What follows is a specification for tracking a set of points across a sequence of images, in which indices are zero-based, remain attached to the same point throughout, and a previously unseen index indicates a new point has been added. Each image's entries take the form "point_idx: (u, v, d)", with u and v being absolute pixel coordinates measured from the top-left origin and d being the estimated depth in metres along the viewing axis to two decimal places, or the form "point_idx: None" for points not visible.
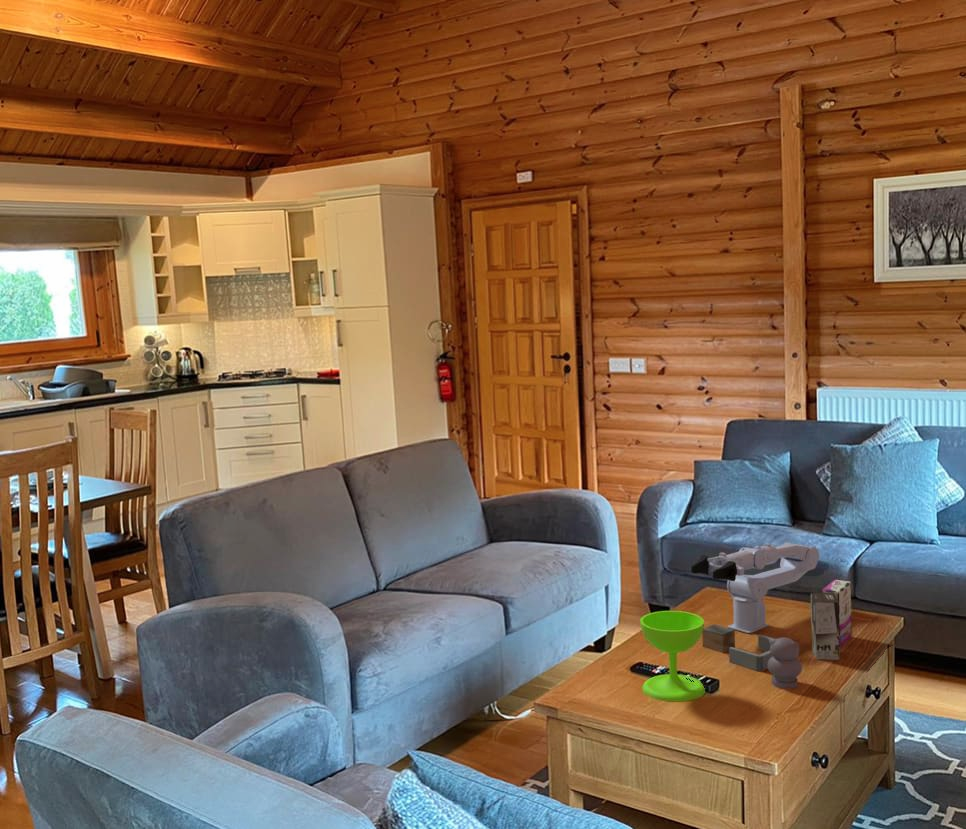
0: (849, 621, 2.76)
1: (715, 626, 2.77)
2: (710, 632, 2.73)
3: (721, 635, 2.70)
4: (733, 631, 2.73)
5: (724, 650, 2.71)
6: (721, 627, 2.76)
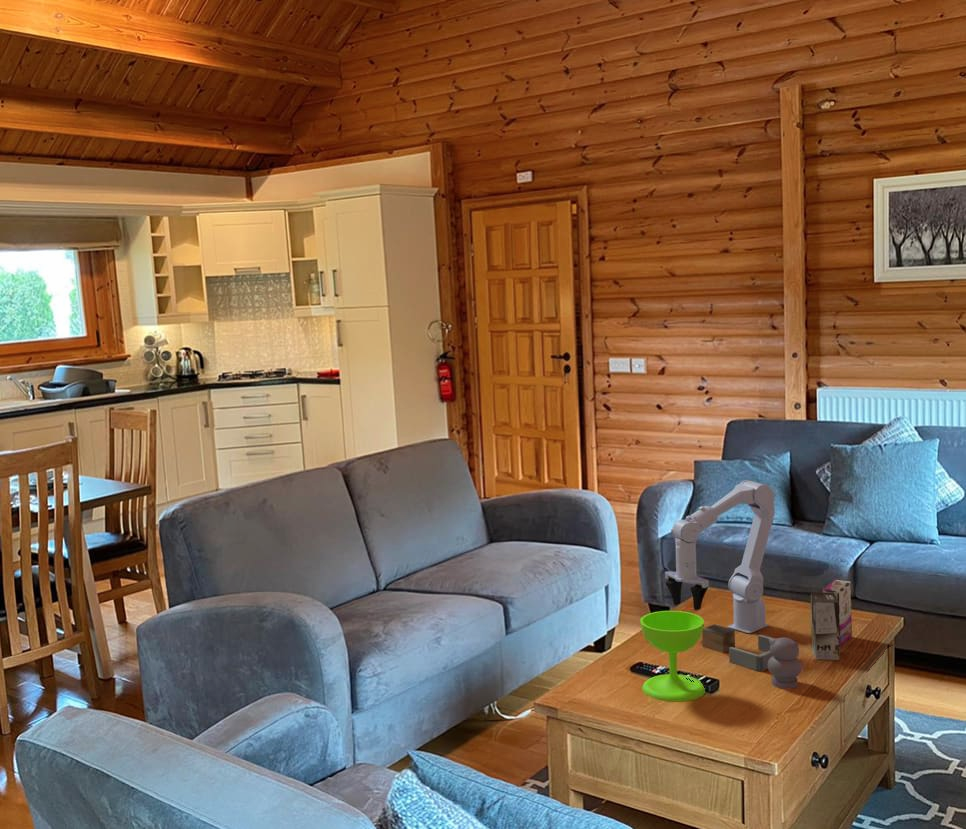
0: (849, 621, 2.76)
1: (715, 626, 2.77)
2: (710, 632, 2.73)
3: (721, 635, 2.70)
4: (733, 631, 2.73)
5: (724, 650, 2.71)
6: (721, 627, 2.76)
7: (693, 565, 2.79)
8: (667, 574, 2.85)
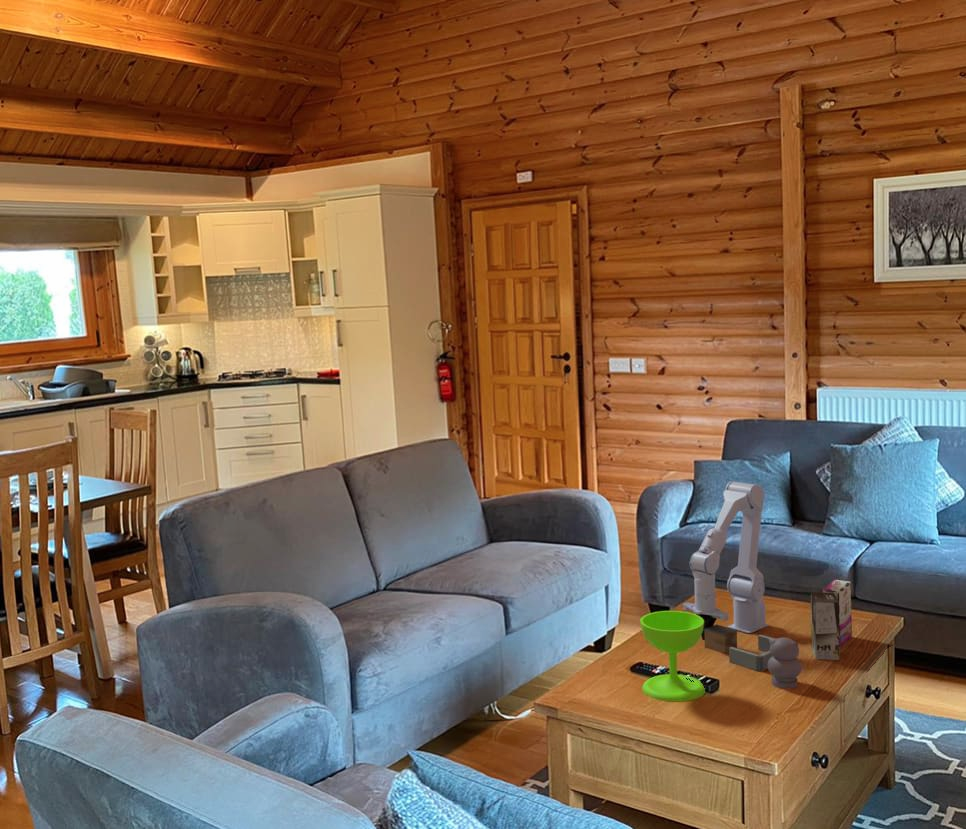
0: (849, 621, 2.76)
1: (717, 626, 2.76)
2: (712, 632, 2.72)
3: (723, 635, 2.70)
4: (735, 631, 2.72)
5: (726, 650, 2.70)
6: (723, 627, 2.75)
7: (712, 597, 2.74)
8: (685, 606, 2.81)
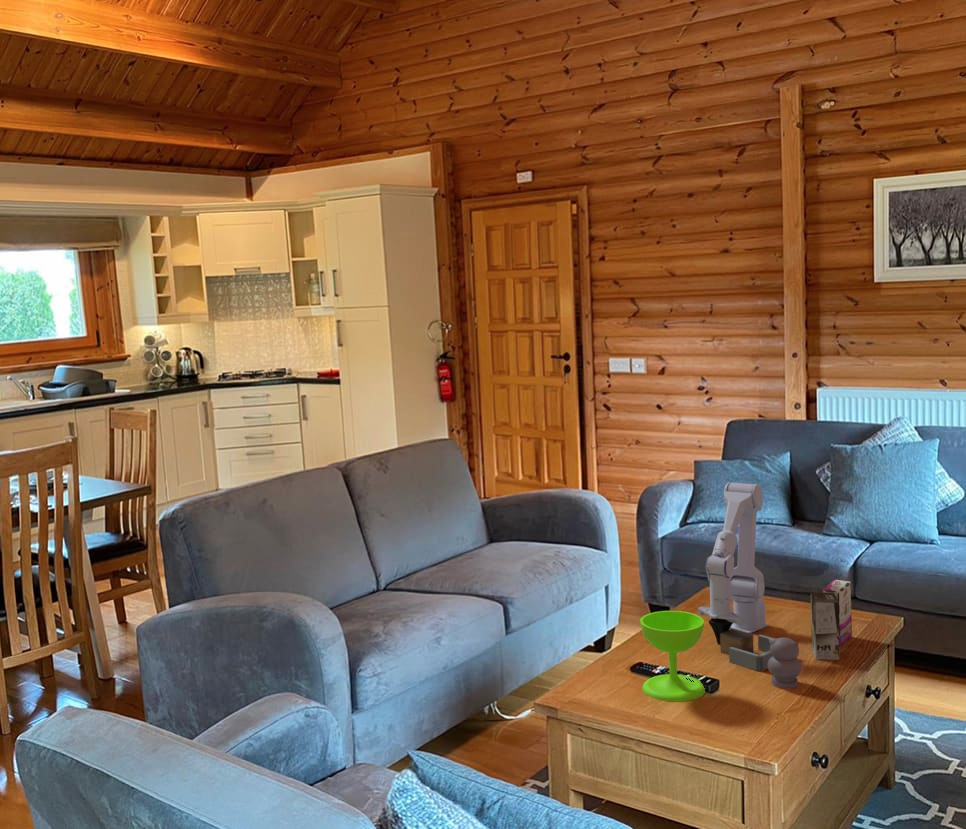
0: (849, 621, 2.76)
1: (733, 631, 2.72)
2: (728, 637, 2.68)
3: (740, 640, 2.65)
4: (752, 636, 2.68)
5: None
6: (739, 632, 2.71)
7: (728, 601, 2.70)
8: (700, 610, 2.77)
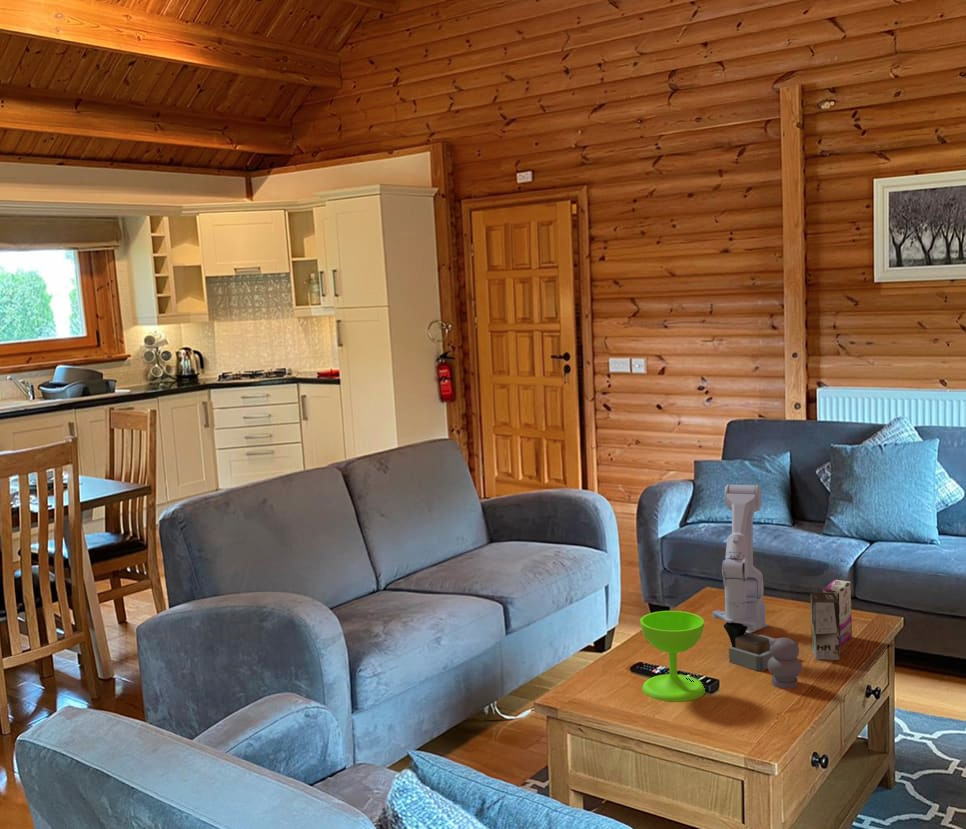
0: (849, 621, 2.76)
1: (748, 635, 2.68)
2: (744, 641, 2.64)
3: (755, 644, 2.61)
4: (767, 640, 2.64)
5: None
6: (755, 636, 2.67)
7: (743, 605, 2.66)
8: (715, 614, 2.73)
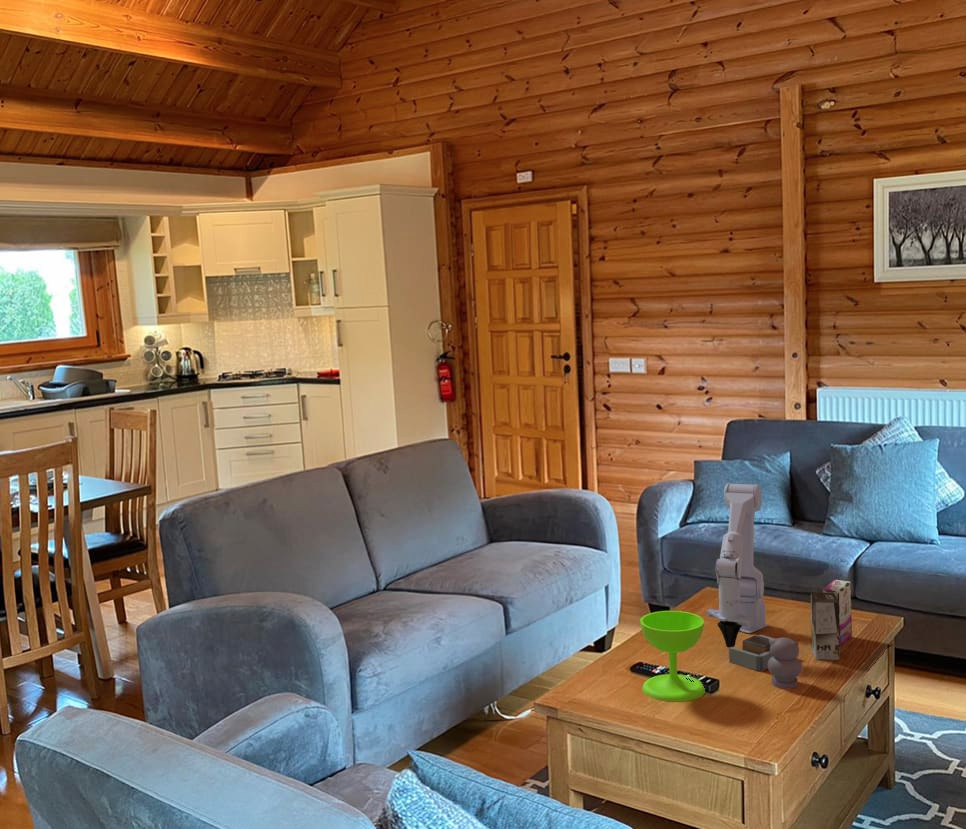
0: (849, 621, 2.76)
1: (756, 638, 2.66)
2: (751, 644, 2.62)
3: (763, 647, 2.59)
4: None
5: None
6: (762, 639, 2.65)
7: (737, 604, 2.68)
8: (709, 612, 2.75)
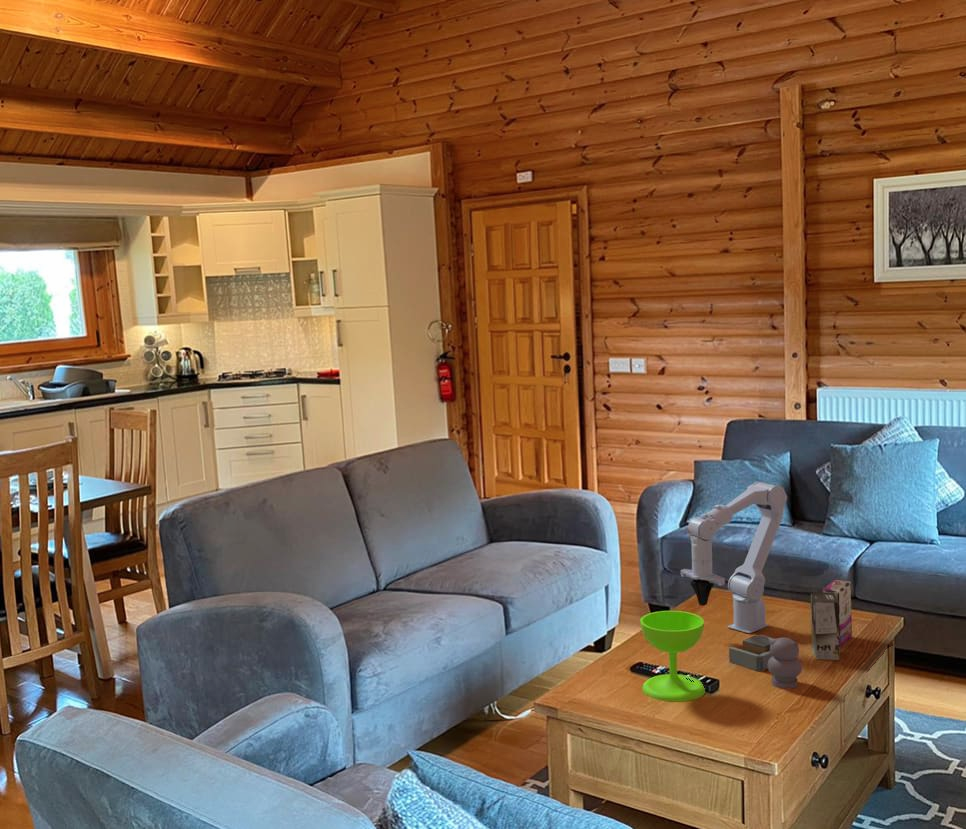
0: (849, 621, 2.76)
1: (756, 638, 2.66)
2: (751, 644, 2.62)
3: (763, 647, 2.59)
4: None
5: None
6: (762, 639, 2.65)
7: (709, 563, 2.78)
8: (683, 572, 2.85)
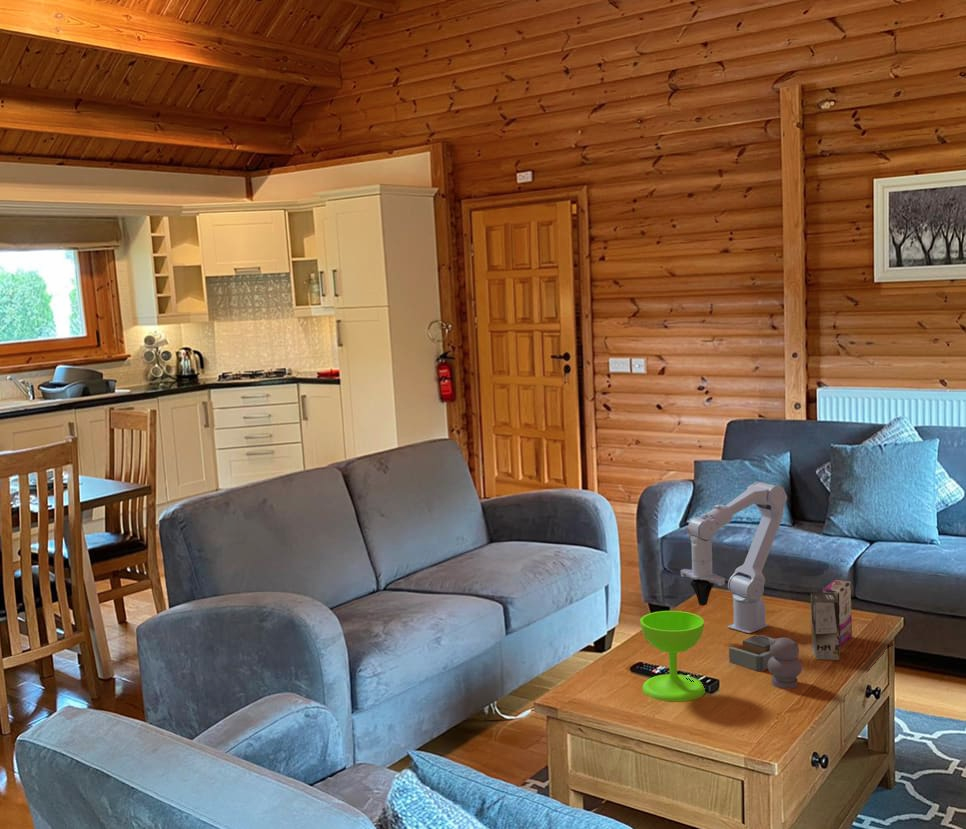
0: (849, 621, 2.76)
1: (756, 638, 2.66)
2: (751, 644, 2.62)
3: (763, 647, 2.59)
4: None
5: None
6: (762, 639, 2.65)
7: (709, 563, 2.78)
8: (683, 572, 2.85)
